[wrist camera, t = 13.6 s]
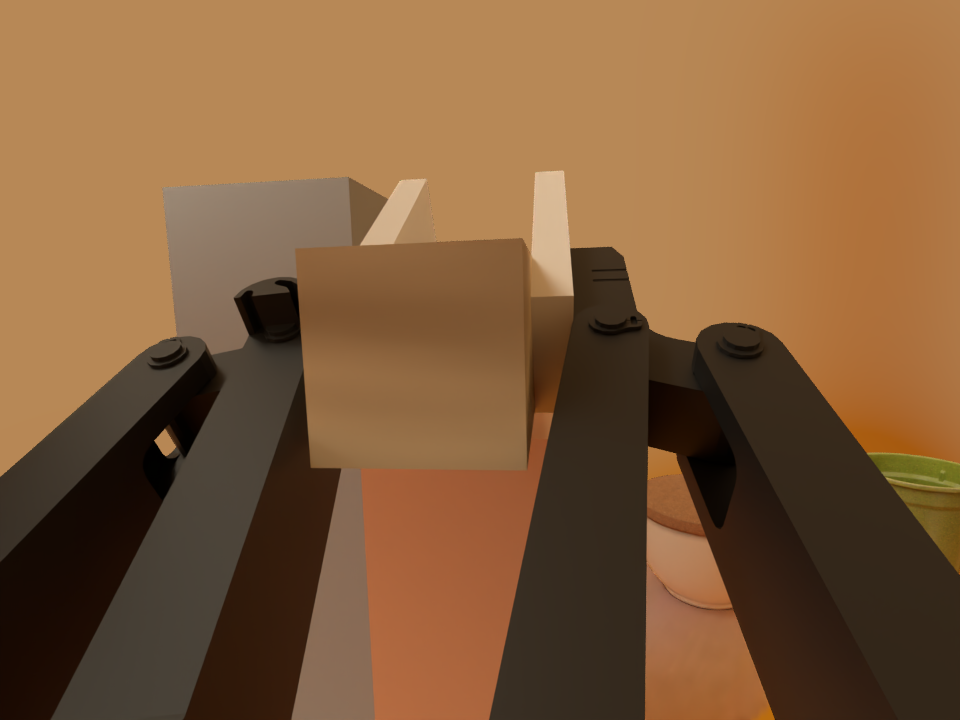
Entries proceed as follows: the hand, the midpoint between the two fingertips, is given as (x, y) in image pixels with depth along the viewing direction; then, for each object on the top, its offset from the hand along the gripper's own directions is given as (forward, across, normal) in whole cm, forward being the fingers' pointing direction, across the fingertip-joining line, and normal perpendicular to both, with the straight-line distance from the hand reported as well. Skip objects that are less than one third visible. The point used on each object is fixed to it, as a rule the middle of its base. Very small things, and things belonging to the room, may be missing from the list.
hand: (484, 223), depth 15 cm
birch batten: (+2, 0, -6) cm, 6 cm away
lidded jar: (+10, +14, -36) cm, 40 cm away
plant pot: (+15, +32, -39) cm, 53 cm away
